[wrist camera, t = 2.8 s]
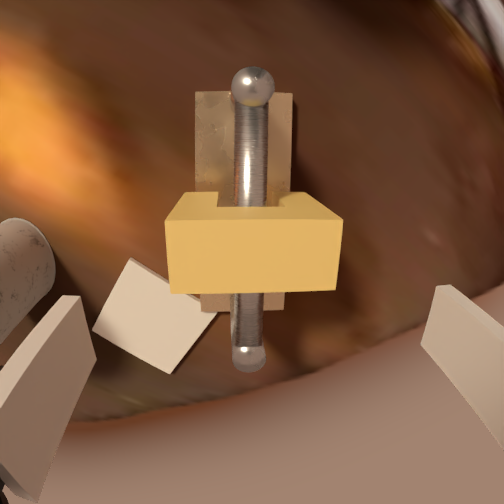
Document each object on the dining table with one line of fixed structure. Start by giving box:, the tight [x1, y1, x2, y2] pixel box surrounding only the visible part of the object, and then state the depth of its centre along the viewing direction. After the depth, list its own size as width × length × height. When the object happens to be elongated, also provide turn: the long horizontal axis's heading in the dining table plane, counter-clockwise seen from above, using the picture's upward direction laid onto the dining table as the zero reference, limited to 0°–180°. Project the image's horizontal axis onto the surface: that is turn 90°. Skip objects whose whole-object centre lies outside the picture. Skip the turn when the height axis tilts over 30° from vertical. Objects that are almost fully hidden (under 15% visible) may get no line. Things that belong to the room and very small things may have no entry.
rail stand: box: [195, 67, 292, 372], centre depth 24 cm, size 20×8×10 cm, turn 179°
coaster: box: [92, 257, 217, 374], centre depth 32 cm, size 10×10×1 cm
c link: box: [165, 192, 343, 294], centre depth 21 cm, size 9×4×8 cm, turn 89°
